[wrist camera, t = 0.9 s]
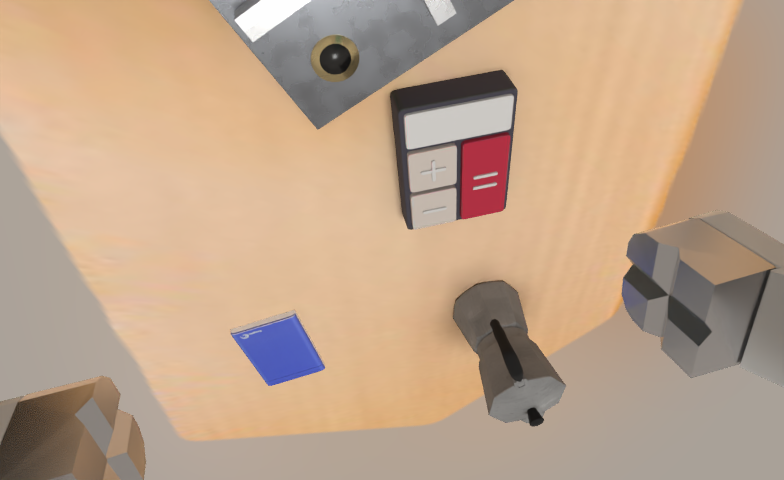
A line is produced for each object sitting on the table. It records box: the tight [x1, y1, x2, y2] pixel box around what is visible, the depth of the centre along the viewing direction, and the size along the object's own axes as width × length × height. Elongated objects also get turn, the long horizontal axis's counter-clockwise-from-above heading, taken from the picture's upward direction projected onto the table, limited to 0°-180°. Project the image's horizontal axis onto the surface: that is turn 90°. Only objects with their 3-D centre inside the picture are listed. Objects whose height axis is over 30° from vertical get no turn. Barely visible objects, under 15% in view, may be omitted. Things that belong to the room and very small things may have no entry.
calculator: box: [390, 70, 517, 229], centre depth 54 cm, size 11×4×15 cm
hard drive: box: [231, 310, 325, 386], centre depth 70 cm, size 2×8×12 cm
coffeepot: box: [453, 281, 566, 426], centre depth 66 cm, size 15×9×18 cm, turn 20°
